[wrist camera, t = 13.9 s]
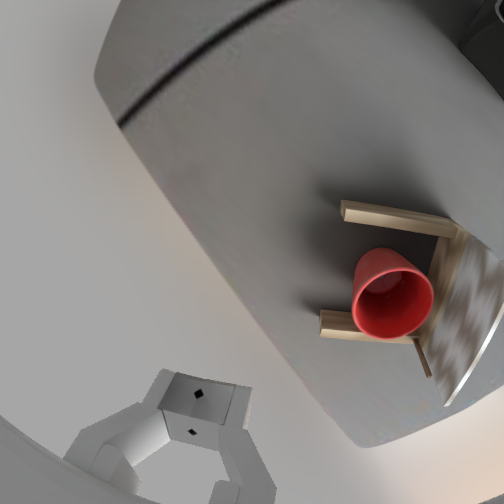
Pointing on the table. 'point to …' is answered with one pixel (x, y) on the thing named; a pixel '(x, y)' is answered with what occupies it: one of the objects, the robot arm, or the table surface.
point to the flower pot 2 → (487, 42)
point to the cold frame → (439, 296)
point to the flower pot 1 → (389, 295)
